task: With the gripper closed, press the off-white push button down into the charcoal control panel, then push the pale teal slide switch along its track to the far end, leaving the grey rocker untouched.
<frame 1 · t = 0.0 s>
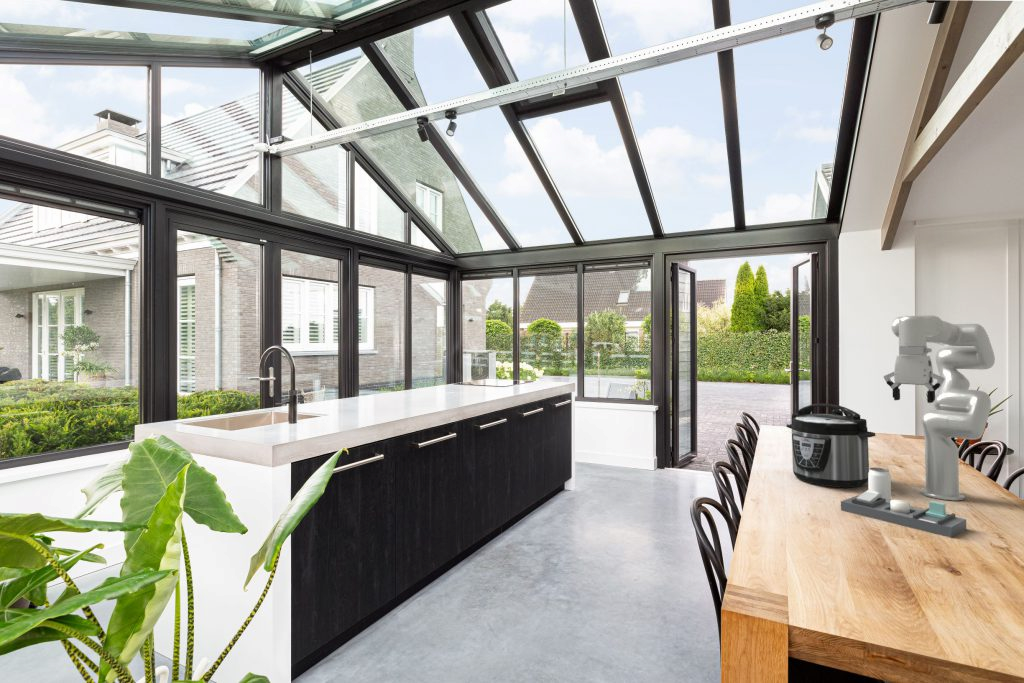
hand: (913, 401, 177), 37 cm above the table, fingers open, 9 cm apart
can: (879, 503, 183), on the table
teal slide switch: (937, 509, 160), point 5 cm above the table, slide at 0.0 cm
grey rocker: (868, 496, 174), point 5 cm above the table, hinge at 10.0°
control panel: (900, 519, 166), on the table
push button: (899, 508, 166), point 4 cm above the table, slide at 0.0 cm
pressure cooker: (828, 481, 212), on the table
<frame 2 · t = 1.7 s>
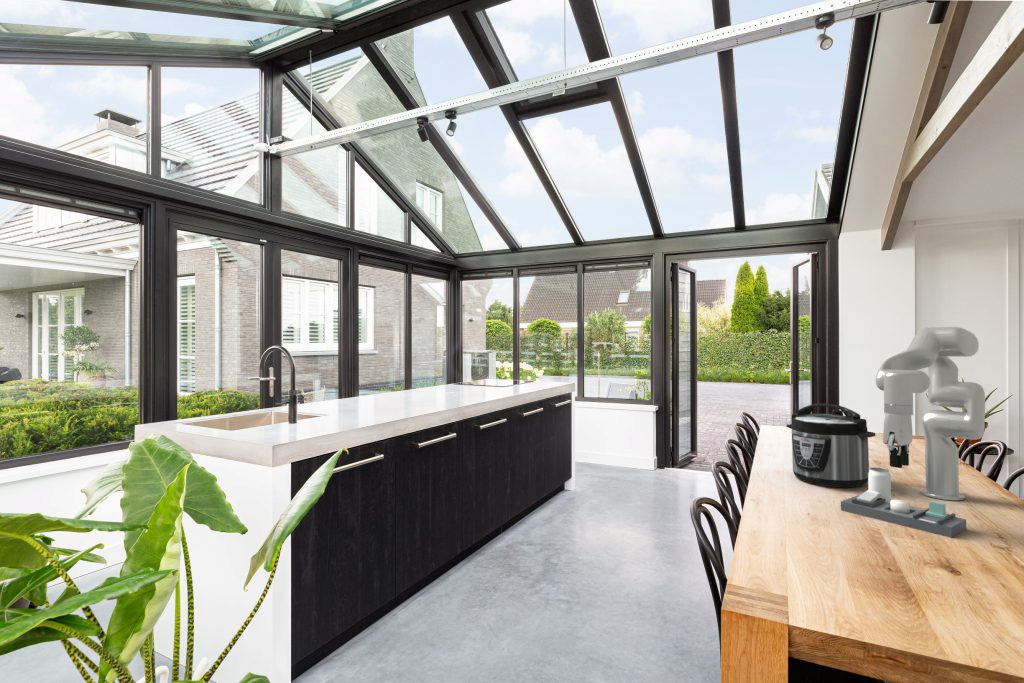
hand: (899, 465, 166), 17 cm above the table, fingers open, 4 cm apart
nothing on the table moved.
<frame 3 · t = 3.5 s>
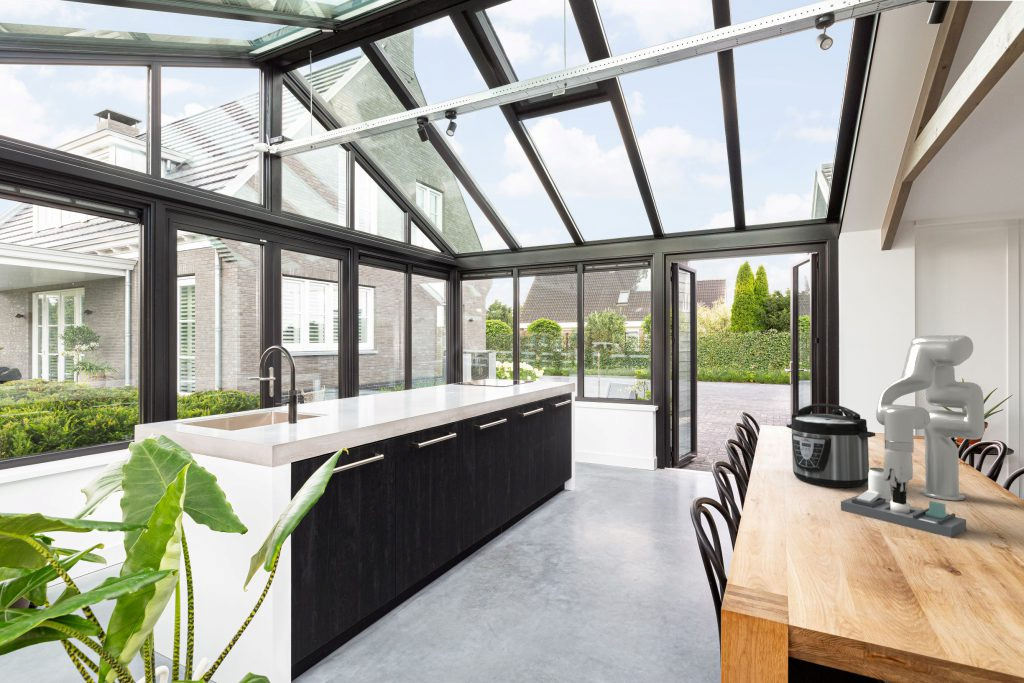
hand: (899, 502, 166), 5 cm above the table, fingers closed
push button: (899, 508, 166), point 3 cm above the table, slide at 0.2 cm, touching gripper
everything else where it was.
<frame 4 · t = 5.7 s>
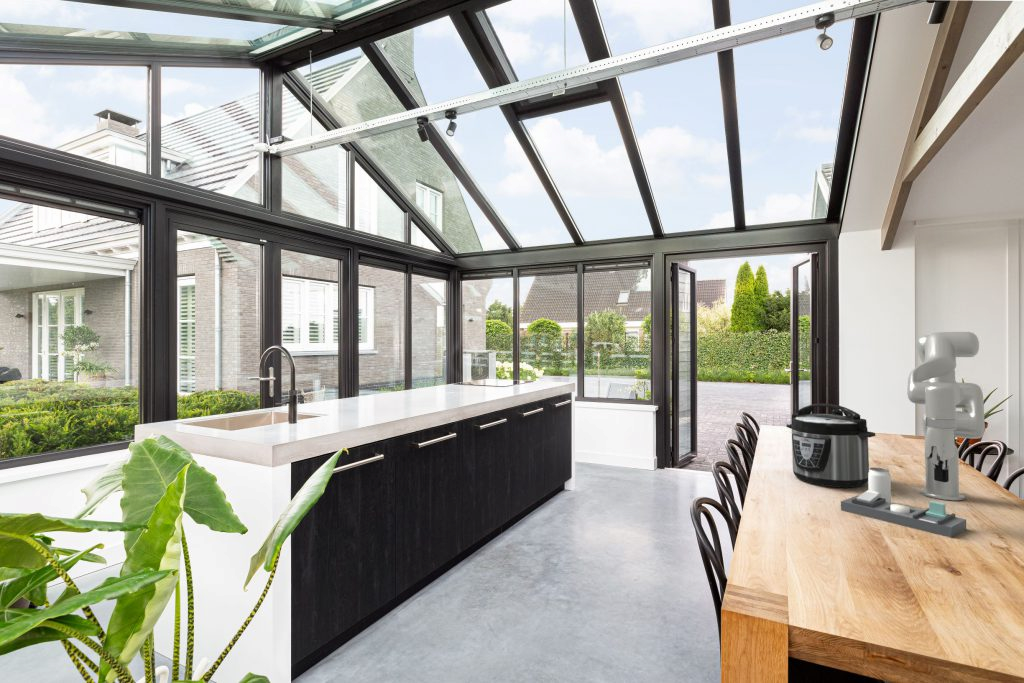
hand: (941, 481, 164), 13 cm above the table, fingers closed
push button: (900, 512, 166), point 2 cm above the table, slide at 1.5 cm
everything else where it was.
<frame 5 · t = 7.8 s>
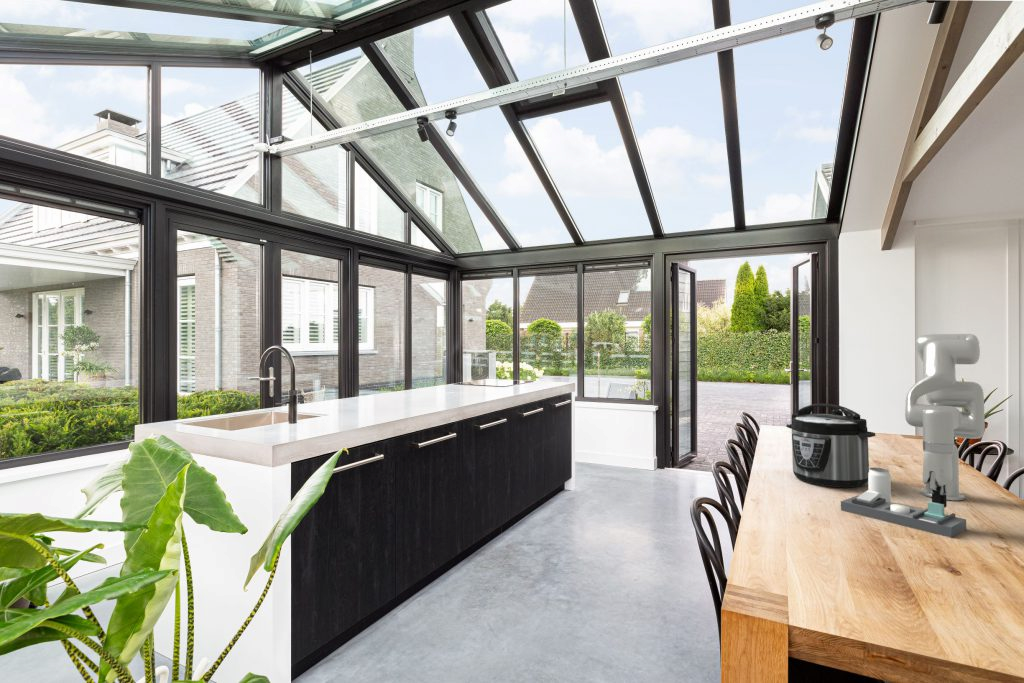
hand: (939, 506, 161), 6 cm above the table, fingers closed
teal slide switch: (935, 509, 160), point 5 cm above the table, slide at 1.1 cm, touching gripper
everything else where it was.
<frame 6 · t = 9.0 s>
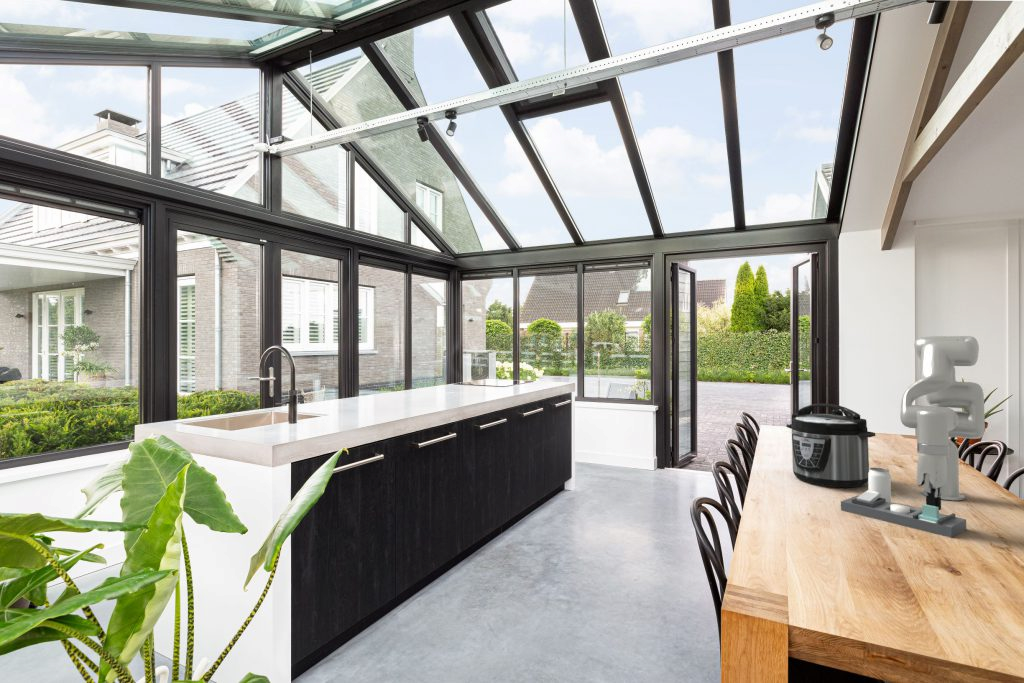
hand: (933, 509, 158), 6 cm above the table, fingers closed
teal slide switch: (930, 512, 157), point 5 cm above the table, slide at 5.3 cm, touching gripper
everything else where it was.
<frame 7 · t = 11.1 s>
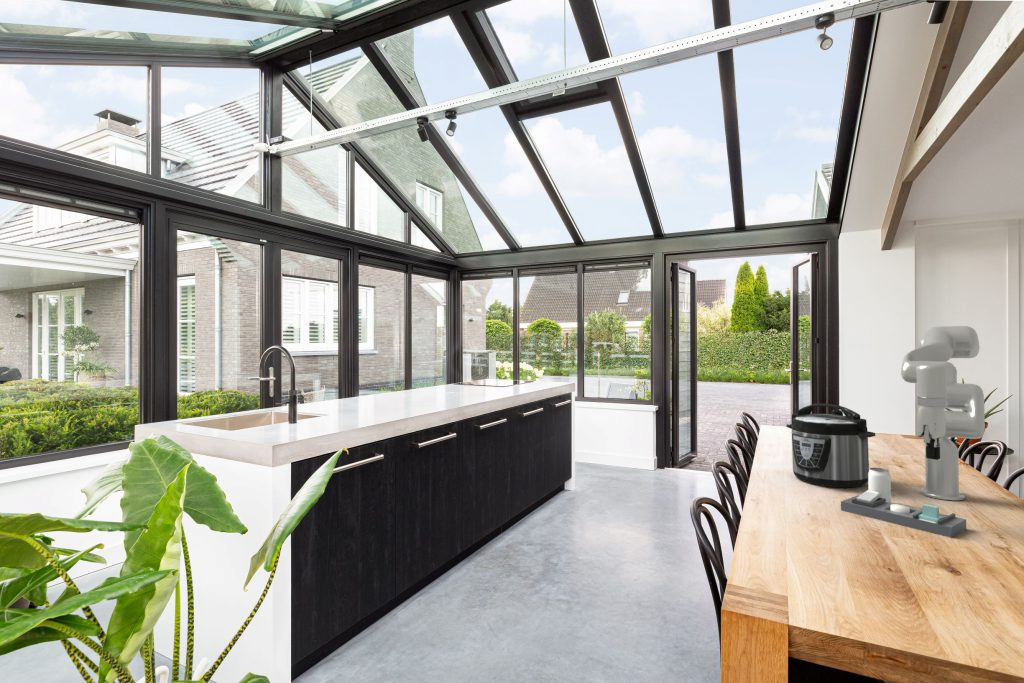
hand: (933, 458, 166), 20 cm above the table, fingers closed
teal slide switch: (930, 512, 157), point 5 cm above the table, slide at 5.1 cm
everything else where it was.
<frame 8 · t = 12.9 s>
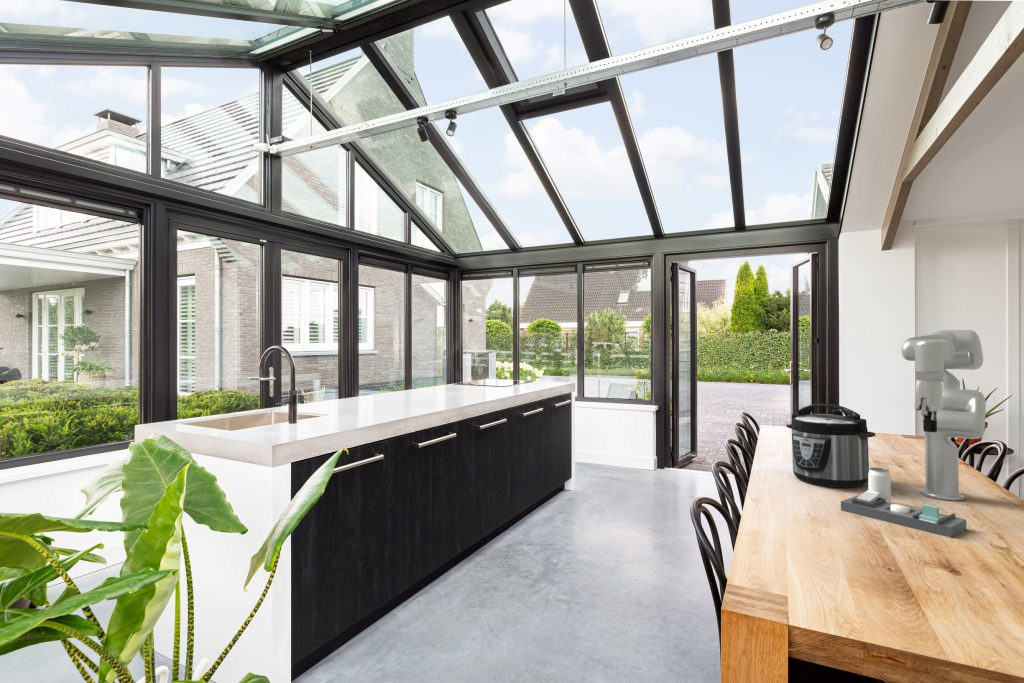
hand: (930, 431, 172), 27 cm above the table, fingers closed
nothing on the table moved.
at the end: push button slide at 1.5 cm; teal slide switch slide at 5.1 cm; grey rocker at +10° (first picture: +10°) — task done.
